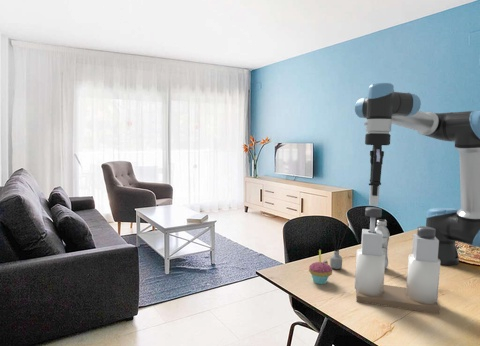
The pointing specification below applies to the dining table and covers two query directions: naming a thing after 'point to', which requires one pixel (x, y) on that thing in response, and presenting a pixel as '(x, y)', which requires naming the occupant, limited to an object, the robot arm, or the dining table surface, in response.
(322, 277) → the cupcake
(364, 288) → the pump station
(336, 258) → the reed diffuser
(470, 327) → the dining table surface
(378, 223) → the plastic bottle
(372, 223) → the plunger
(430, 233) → the plunger
